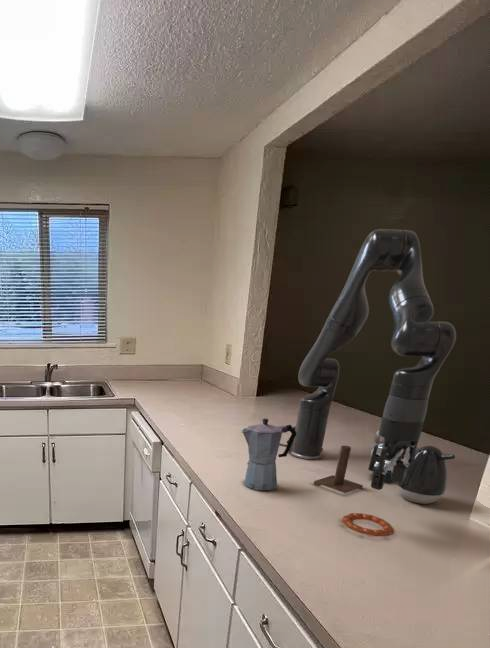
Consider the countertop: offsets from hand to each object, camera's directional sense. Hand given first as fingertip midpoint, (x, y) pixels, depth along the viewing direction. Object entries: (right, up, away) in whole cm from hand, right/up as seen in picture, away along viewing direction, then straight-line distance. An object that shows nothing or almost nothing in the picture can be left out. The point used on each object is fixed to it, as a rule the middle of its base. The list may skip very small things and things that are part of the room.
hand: (386, 484), depth 100 cm
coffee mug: (+40, +8, +54) cm, 68 cm away
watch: (+19, 0, +30) cm, 36 cm away
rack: (+3, -2, +25) cm, 25 cm away
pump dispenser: (+20, -5, +16) cm, 26 cm away
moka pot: (-18, -2, +26) cm, 32 cm away
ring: (-4, -10, +1) cm, 10 cm away
